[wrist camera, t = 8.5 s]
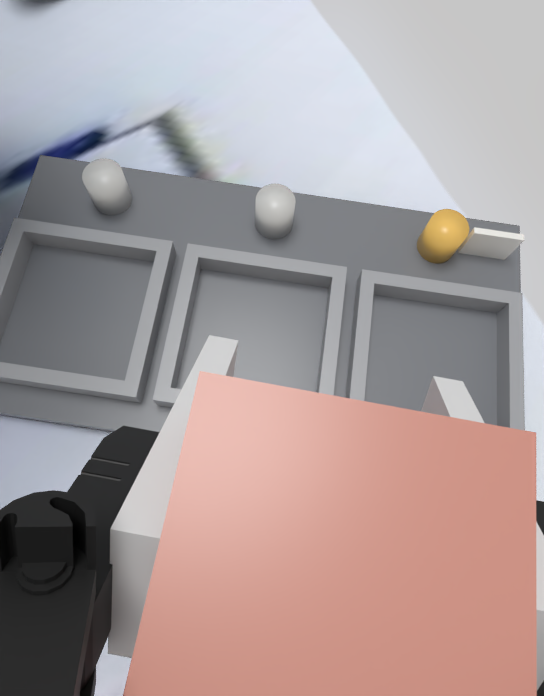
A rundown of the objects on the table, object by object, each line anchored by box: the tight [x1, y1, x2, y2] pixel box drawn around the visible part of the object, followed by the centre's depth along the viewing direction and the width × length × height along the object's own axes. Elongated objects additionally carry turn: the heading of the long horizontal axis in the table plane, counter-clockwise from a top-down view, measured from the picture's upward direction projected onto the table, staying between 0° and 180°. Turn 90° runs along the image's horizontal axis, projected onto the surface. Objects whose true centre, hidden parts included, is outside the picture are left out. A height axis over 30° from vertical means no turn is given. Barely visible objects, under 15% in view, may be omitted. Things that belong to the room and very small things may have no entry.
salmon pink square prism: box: [123, 371, 537, 696], centre depth 11 cm, size 5×5×9 cm
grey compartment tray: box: [0, 155, 525, 432], centre depth 29 cm, size 32×17×3 cm, turn 82°
